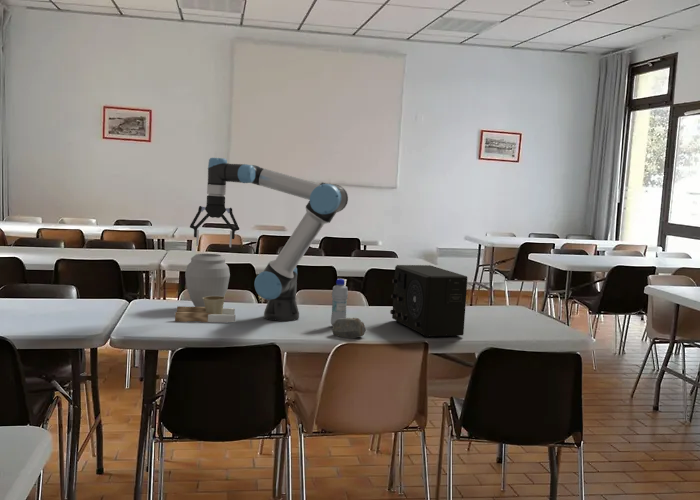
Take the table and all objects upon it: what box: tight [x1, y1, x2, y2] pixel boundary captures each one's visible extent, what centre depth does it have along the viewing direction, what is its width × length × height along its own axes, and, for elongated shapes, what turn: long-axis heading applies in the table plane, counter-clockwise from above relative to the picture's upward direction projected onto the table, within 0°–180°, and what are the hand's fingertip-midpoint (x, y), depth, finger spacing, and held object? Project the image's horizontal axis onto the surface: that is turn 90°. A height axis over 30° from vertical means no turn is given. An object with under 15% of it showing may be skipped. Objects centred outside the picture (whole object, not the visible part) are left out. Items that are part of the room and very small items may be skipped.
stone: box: [331, 317, 366, 339], centre depth 273 cm, size 12×8×8 cm, turn 69°
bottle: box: [330, 278, 349, 328], centre depth 289 cm, size 7×7×20 cm
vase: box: [184, 253, 231, 307], centre depth 311 cm, size 20×20×24 cm
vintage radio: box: [389, 264, 468, 338], centre depth 295 cm, size 38×20×25 cm, turn 19°
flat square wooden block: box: [174, 305, 211, 323], centre depth 291 cm, size 14×14×4 cm
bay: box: [207, 307, 236, 323], centre depth 294 cm, size 11×15×3 cm
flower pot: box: [203, 296, 226, 315], centre depth 293 cm, size 9×9×9 cm
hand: (213, 246), depth 293 cm, fingers open, 13 cm apart
